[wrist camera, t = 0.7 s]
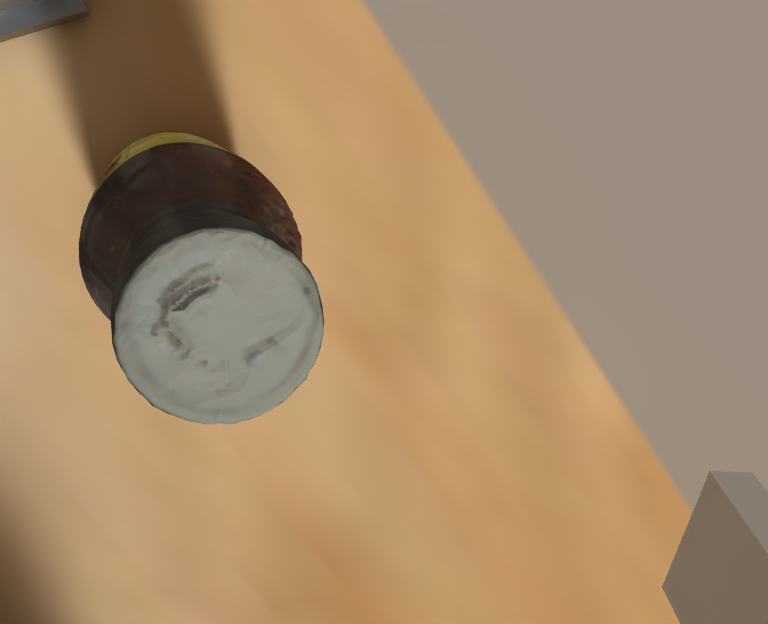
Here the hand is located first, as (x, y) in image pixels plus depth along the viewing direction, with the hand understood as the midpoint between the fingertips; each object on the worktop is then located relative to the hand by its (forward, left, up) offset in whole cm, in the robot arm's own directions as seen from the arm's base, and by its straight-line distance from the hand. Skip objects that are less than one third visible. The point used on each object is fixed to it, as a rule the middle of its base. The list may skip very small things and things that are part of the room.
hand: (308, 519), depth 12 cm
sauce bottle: (+1, +3, -23) cm, 23 cm away
